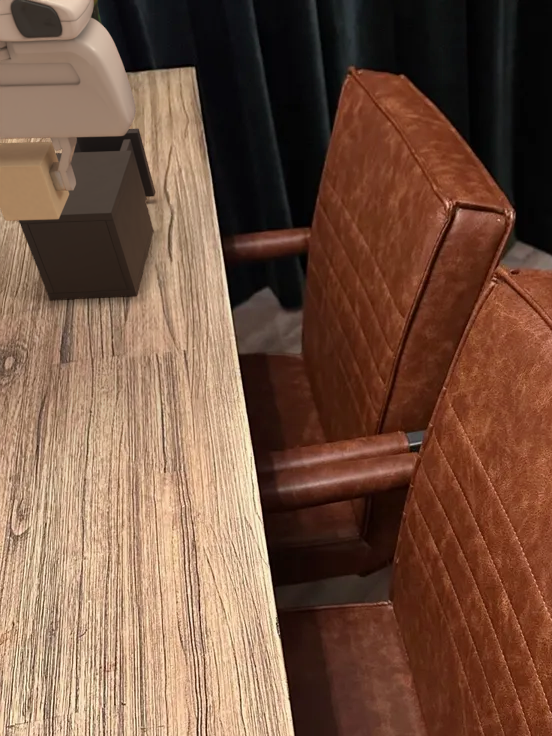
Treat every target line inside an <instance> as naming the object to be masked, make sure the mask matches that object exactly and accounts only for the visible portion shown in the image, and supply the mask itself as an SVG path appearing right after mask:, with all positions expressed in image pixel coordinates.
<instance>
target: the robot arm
mask: <svg viewBox="0 0 552 736" xmlns="http://www.w3.org/2000/svg"><path fill="white" fill-rule="evenodd" d="M93 7H94V0H0V140H19V139H22V140H23V139H50V142H52V144H53V147H54V150H55V152H56V151H61V153H62V154H61V158H60V162H53V164H52V167H51V168H50V170H49V174H50V177H51V180H52V181H53V182H54V183H53V185H54V188H55V190H56V191H70V190H74V188H75V186H76V179H75V176H74V172H73V169H72V166H71V161H72V157H73V153H74V149H75V145H76V141H77V138H76V137H106V136H123V135H125V134H126V133H127V131H128V130H129V129H131V127H132V124H133V123H134V120H135V117H136V112H137V111H136V108H137V107H136V102H135V98H134V94H133V90H132V87H131V83H130V80H129V77H128V74H127V72H126V70H125V66H124V63H123V60H122V58H121V56H120V53H119V50H118V48H117V46H116V43H115V41H114V39H113V37H112V36H111V34H110V32H109V31H108V30H107V28H106V27H104V25H103V24H100V23H99V22H98V21H96V20H95V19H93V18H91V16H92V12H93Z"/></svg>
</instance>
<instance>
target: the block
mask: <svg viewBox="0 0 552 736" xmlns="http://www.w3.org/2000/svg"><path fill="white" fill-rule="evenodd" d="M56 153H57V152H56V150H55V149H54V147H53V144H52V141H32V142H31V141H26V142H25V141H22V142H0V211H1V214H2V217H3V219H4V221H5V222H9V221H12V222H13V221H19V220H47V219H59V217H60V215H61V213H62V210H63V208H64V206H65V203H66V201H67V199H68V196H69V192H68V191H56V190H55V188H54V185H53V183H54V182H53V181H52V180H51V177H50V174H49V170H50V168H51V167H52V164H53V162H58V159H57V156H56Z"/></svg>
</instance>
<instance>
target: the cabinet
mask: <svg viewBox="0 0 552 736" xmlns="http://www.w3.org/2000/svg"><path fill="white" fill-rule="evenodd" d="M55 153H56V156H57V159H58V162H60V158H61V154H62V152H55ZM71 166H72V169H73V172H74V176H75V179H76V186H75V188H74V190H70V191H68V192H69V196H68V199H67V201H66V203H65V206H64V208H63V210H62V213H61V215H60V217H59V219H47V220H18V223H19V225H20V227H21V230H22V232H23V235H24V239H25V240H26V243H27V245H28V249H29V251H30V253H31V256H32V258H33V260H34V264H35V266H36V269H37V271H38V273H39V276H40V279H41V281H42V284H43V287H44V288H45V291H46V294H47V296H48V299H49V300H50V301H55V300H57V301H58V300H59V301H60V300H78V299H100V298H103V299H104V298H123V297H124V298H125V297H137V296H138V293H139V290H140V285H141V281H142V277H143V274H144V270H145V267H146V262H147V258H148V254H149V250H150V247H151V243H152V239H153V236H154V226H153V224H152V219H151V216H150V213H149V208H148V204H147V200H146V201H145V197H144V193H143V190H142V186H141V182H140V179H139V175H138V171H137V168H136V164H135V160H134V157H133V153H132V151H106V152H78V153H73V157H72V161H71Z"/></svg>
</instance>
